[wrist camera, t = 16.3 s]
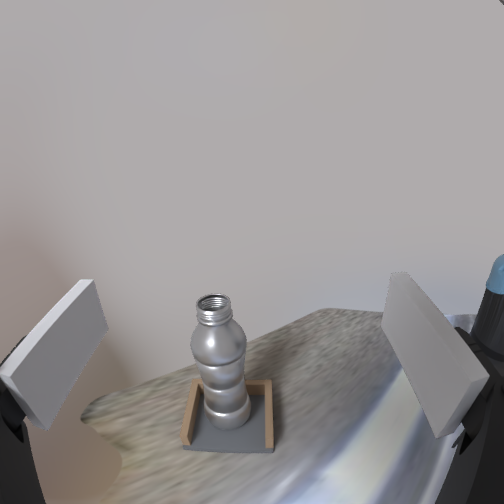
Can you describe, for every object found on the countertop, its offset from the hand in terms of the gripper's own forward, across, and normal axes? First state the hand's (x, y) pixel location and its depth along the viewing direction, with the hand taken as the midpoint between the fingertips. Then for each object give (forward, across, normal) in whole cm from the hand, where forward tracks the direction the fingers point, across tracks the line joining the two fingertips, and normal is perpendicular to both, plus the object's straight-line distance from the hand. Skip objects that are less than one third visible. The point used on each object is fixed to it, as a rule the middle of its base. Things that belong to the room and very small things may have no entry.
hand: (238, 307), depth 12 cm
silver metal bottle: (+16, -4, -30) cm, 34 cm away
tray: (+16, -4, -30) cm, 34 cm away
